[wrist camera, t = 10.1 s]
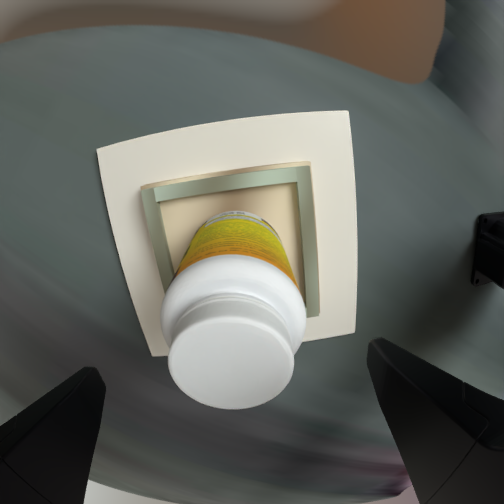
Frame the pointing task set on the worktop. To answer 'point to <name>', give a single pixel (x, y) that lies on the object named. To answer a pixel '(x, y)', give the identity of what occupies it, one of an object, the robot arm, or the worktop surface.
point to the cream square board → (234, 157)
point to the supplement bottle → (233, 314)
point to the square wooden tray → (238, 199)
